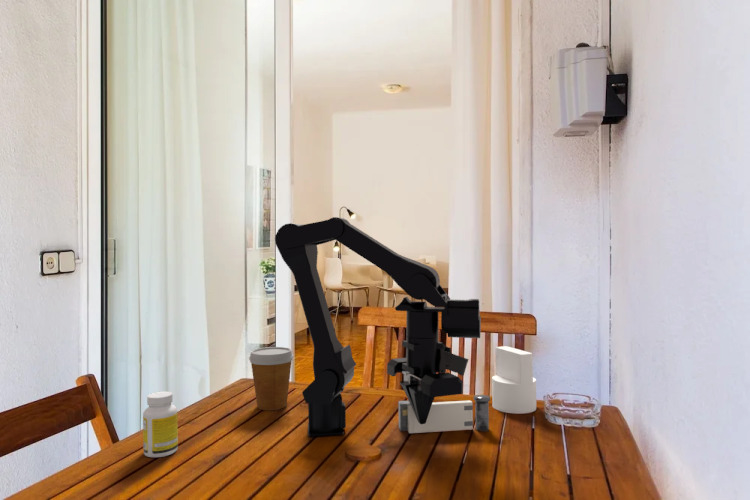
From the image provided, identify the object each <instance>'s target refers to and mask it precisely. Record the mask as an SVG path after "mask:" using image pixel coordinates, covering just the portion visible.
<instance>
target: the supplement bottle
mask: <svg viewBox="0 0 750 500" xmlns="http://www.w3.org/2000/svg"><path fill="white" fill-rule="evenodd" d="M146 398H147V399H146V403H147V406H148V407H146V408H145V409H144V410H143V412H142V413H143V414H142V428H143V429H142V433H143V434H142V436H143V444H142V445H143V455H144V456H145V457H148V458H162V457H168V456H169V455H170V456H171V455H173V454H174V453H175V452H176V451H177V450H178V449H179V448H178V447H179V444H178V443H179V439H178V438H179V437H178V436H179V434H178V429H179V428H178V409H177V407H176V405H174V404H172V403H173V398H174V395H173V392H171V391H157V392H152V393H150V394H148V395H147V396H146Z"/></svg>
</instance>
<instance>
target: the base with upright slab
mask: <svg viewBox="0 0 750 500" xmlns="http://www.w3.org/2000/svg"><path fill="white" fill-rule="evenodd" d="M533 356H534V353H533V352H530V351H526V350H522V349H519V348H515V347H512V346H508V345H502V346H496V347H495V374H494V375H493V376H492V377H491V384H492V387H491V390H492V395H491V396H492V405H491V406H492V408H493V409H494V410H497V411H498V412H502V413H506V414H507V413H508V414H517V415H518V414H530V413H533V412H535V411H536V410H537V379H536V377H534V374H533V369H534V367H533V365H534V364H533V361H534V360H533V359H534V358H533Z"/></svg>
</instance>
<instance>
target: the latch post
mask: <svg viewBox="0 0 750 500" xmlns="http://www.w3.org/2000/svg"><path fill="white" fill-rule="evenodd" d="M407 404H410V402H409V400H398V408H397V409H398V429H399V431H400V432H405V431H407V432H408V409H407Z"/></svg>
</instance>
